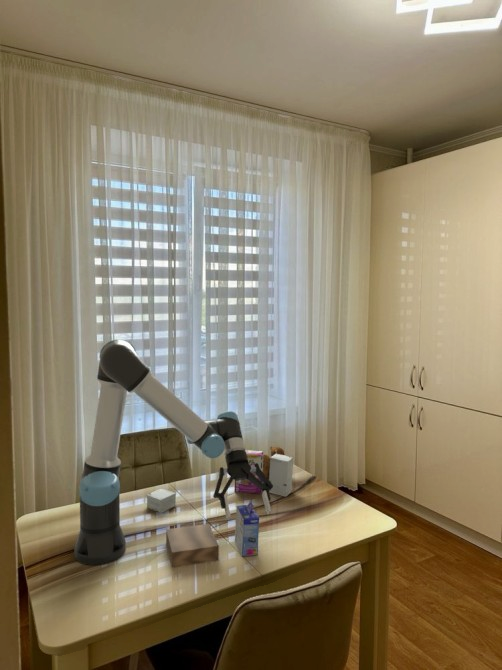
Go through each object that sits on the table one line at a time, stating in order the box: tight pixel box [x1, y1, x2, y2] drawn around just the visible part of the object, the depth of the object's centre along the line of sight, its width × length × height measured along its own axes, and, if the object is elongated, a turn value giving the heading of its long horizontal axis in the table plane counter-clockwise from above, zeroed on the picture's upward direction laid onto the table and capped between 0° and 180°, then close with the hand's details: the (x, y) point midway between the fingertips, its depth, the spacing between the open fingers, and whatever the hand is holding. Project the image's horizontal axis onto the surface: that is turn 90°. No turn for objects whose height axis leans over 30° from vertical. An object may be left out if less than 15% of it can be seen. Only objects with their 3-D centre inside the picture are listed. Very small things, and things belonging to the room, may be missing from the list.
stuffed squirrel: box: [263, 446, 286, 479], centre depth 207 cm, size 10×14×13 cm
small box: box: [146, 488, 177, 514], centre depth 177 cm, size 8×8×5 cm
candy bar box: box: [234, 449, 264, 495], centre depth 192 cm, size 11×5×16 cm, turn 84°
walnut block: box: [165, 523, 220, 568], centre depth 147 cm, size 14×14×5 cm
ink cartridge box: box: [234, 500, 260, 557], centre depth 149 cm, size 10×6×14 cm, turn 15°
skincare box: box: [268, 454, 295, 498], centre depth 191 cm, size 8×6×15 cm
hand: (248, 514), depth 151 cm, fingers open, 13 cm apart
